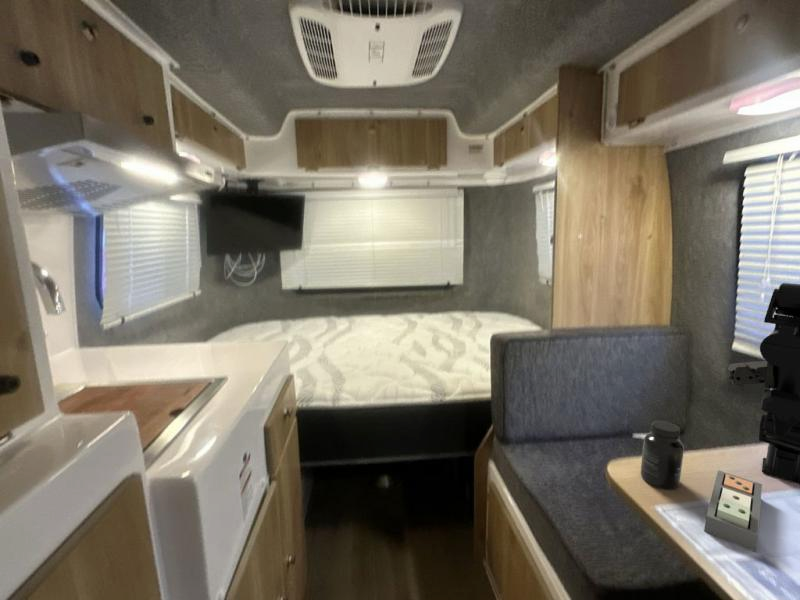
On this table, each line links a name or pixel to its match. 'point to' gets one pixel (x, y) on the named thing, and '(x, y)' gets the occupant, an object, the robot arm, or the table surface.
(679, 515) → the table surface
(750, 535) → the grey tile tray
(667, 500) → the table surface
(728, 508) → the tile two dots
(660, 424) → the supplement bottle
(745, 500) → the tile one dot
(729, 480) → the tile three dots
